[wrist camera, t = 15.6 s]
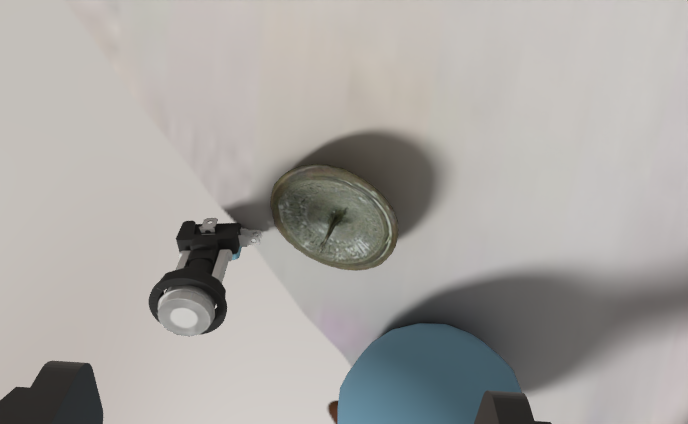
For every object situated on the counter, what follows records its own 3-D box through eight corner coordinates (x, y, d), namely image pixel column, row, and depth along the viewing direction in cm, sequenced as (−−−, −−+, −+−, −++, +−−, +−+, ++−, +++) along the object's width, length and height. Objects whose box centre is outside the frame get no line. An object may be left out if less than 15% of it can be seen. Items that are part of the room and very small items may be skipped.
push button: (258, 203, 45) (236, 286, 36) (266, 256, 48) (247, 344, 39) (175, 206, 45) (135, 289, 37) (189, 258, 48) (154, 346, 40)
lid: (417, 230, 46) (423, 269, 42) (312, 273, 49) (308, 313, 45) (358, 126, 41) (359, 158, 37) (245, 180, 44) (234, 215, 39)
